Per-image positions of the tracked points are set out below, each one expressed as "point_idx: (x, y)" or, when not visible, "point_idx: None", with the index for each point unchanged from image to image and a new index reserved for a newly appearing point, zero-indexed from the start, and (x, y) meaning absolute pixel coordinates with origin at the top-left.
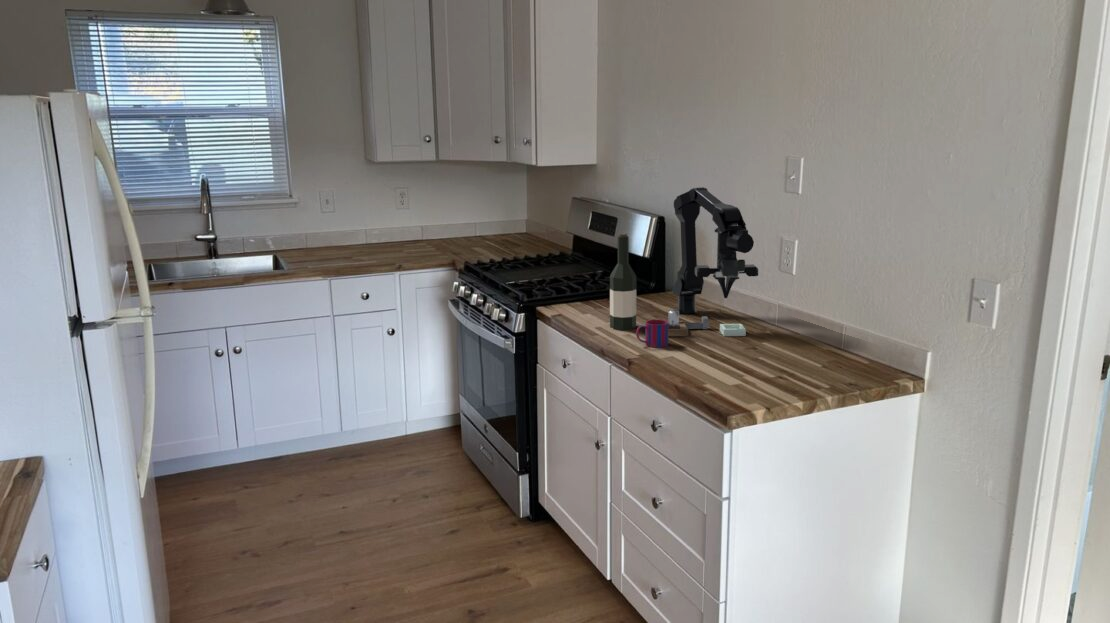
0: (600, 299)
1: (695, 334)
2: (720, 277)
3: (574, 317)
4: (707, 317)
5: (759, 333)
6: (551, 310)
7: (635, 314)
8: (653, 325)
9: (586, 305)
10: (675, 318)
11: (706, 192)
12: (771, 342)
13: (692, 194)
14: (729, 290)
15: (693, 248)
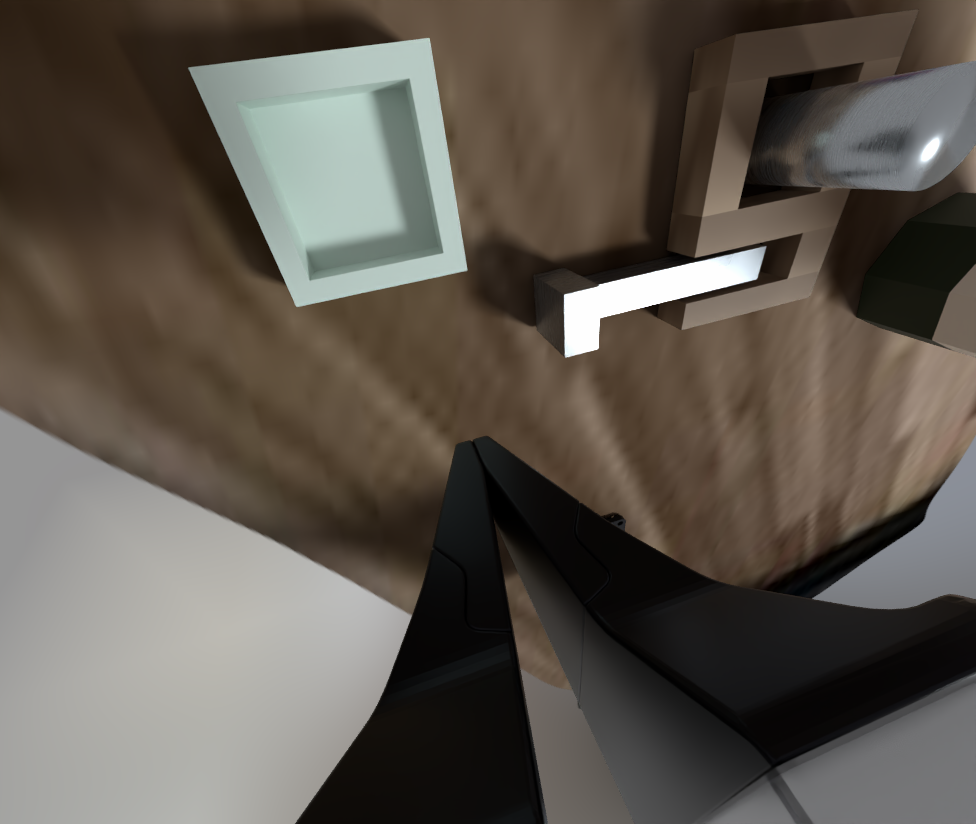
0: (781, 575)
1: (630, 119)
2: (876, 730)
3: (965, 386)
4: (564, 327)
5: (108, 205)
6: (961, 448)
7: (962, 282)
8: None
9: (845, 518)
10: (894, 78)
11: None
12: None
13: None
14: (446, 514)
15: None
